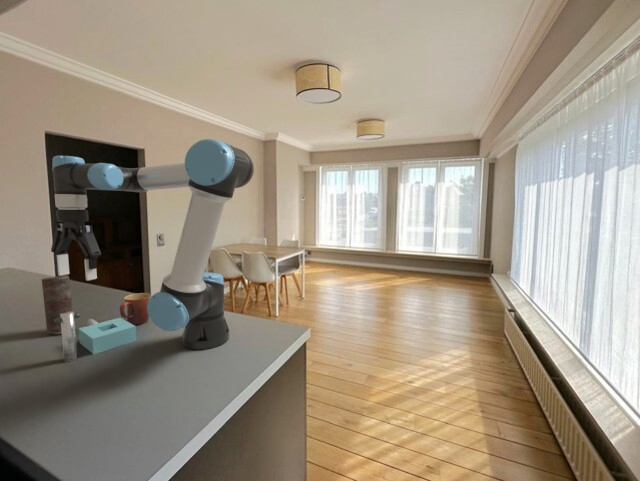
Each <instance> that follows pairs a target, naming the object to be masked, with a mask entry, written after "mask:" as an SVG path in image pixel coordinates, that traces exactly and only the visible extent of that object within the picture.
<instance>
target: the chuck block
mask: <svg viewBox="0 0 640 481" xmlns="http://www.w3.org/2000/svg"><path fill="white" fill-rule="evenodd" d="M85 325H86V326H82V327H78V337H79V339H78V340H79V344H80V345H81V346H83V347H84V348H85V349H87V351H89V352H90V353H91V354H92V355H96V354H97V355H98V354H100V353H102V352H106V351H109V350H112V349H115V348H118V347H122V346H125V345H127V344H130V343H133V342H137V327H136V326H137V325H133V324H131V323H129V322H128V321H127V320H125V318H123V317H117V318H113V319H109V320H105V321H102V322H98V321H97V320H95V319H93V318H89V319H87V320H86V321H85Z"/></svg>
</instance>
